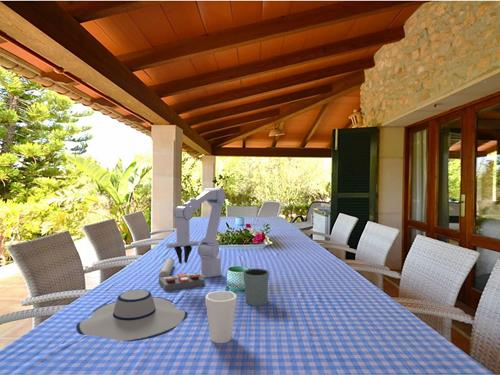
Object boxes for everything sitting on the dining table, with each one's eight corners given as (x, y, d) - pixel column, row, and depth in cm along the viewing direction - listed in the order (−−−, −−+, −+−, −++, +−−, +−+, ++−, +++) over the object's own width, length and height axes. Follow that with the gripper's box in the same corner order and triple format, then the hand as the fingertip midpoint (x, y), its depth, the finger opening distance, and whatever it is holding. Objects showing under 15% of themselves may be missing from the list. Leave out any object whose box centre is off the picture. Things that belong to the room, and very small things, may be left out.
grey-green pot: (250, 308, 128) (250, 276, 128) (239, 299, 137) (239, 270, 136) (273, 303, 133) (273, 273, 132) (261, 295, 142) (261, 267, 141)
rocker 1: (173, 279, 155) (173, 277, 155) (176, 279, 150) (176, 277, 150) (165, 280, 154) (165, 278, 154) (168, 280, 148) (168, 278, 148)
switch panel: (196, 278, 166) (196, 271, 166) (204, 285, 155) (204, 278, 155) (158, 283, 158) (158, 276, 158) (165, 290, 147) (165, 283, 147)
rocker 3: (196, 276, 160) (196, 274, 160) (200, 276, 155) (200, 274, 155) (189, 277, 159) (189, 274, 159) (193, 277, 153) (192, 275, 154)
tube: (170, 272, 163) (175, 259, 188) (159, 269, 162) (166, 256, 187) (167, 282, 163) (172, 268, 188) (156, 279, 162) (163, 265, 187)
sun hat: (94, 304, 134) (94, 280, 134) (187, 298, 140) (187, 276, 140) (59, 349, 99) (59, 317, 98) (186, 339, 105) (186, 310, 104)
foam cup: (206, 331, 109) (206, 291, 108) (235, 330, 109) (235, 290, 109) (205, 346, 99) (204, 302, 99) (236, 345, 100) (236, 301, 99)
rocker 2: (185, 274, 158) (185, 272, 158) (188, 281, 153) (189, 279, 152) (177, 275, 156) (177, 273, 156) (180, 282, 151) (181, 280, 151)
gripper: (169, 235, 147) (169, 266, 147) (201, 232, 153) (201, 262, 154) (165, 233, 153) (165, 263, 154) (196, 230, 160) (196, 259, 160)
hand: (183, 262), depth 154 cm, fingers closed
